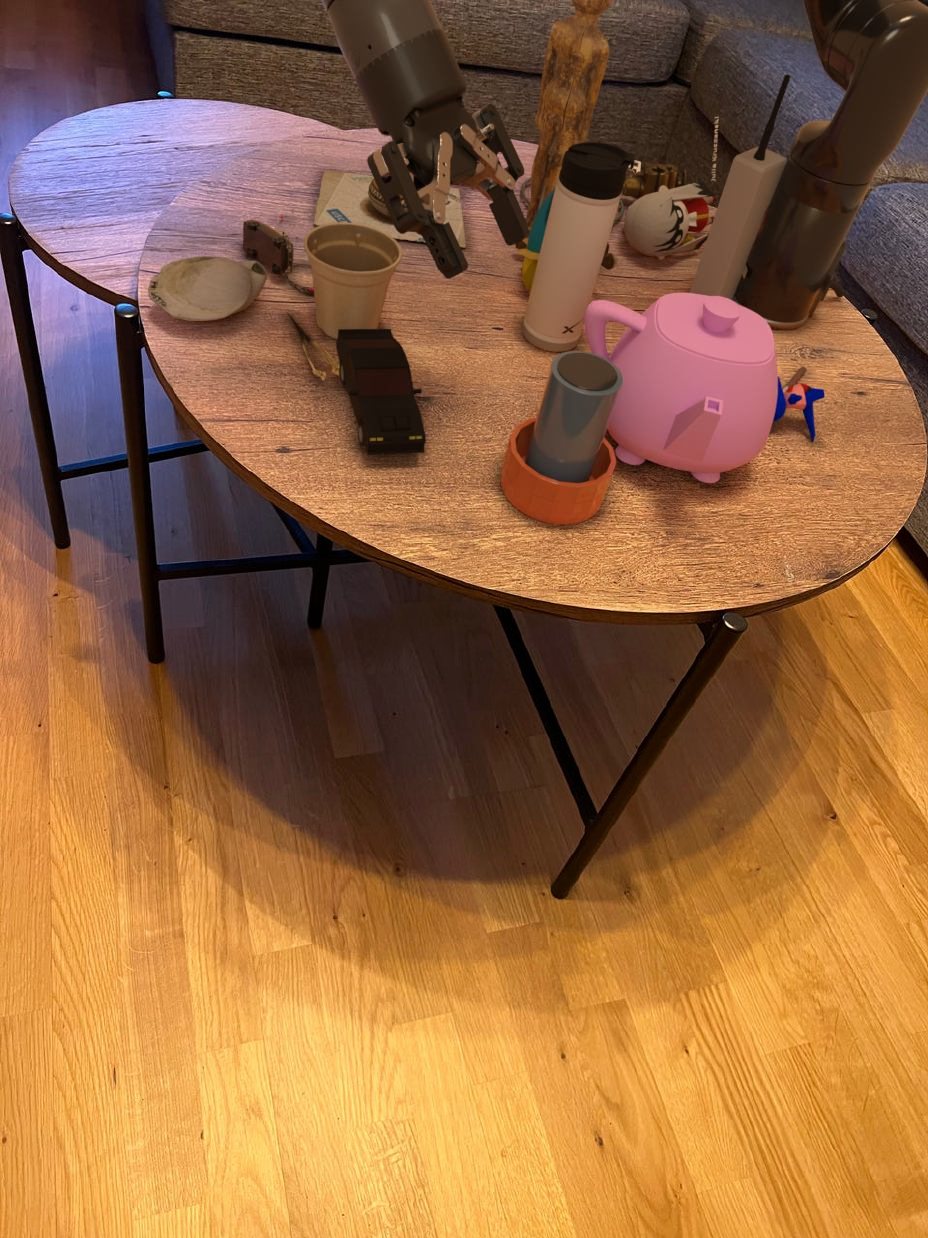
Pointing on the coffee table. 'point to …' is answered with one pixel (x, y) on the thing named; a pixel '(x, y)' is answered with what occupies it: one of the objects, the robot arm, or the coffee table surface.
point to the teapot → (689, 382)
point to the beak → (321, 350)
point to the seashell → (206, 287)
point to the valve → (653, 180)
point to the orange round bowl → (552, 483)
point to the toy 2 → (670, 218)
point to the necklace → (310, 290)
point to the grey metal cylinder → (573, 416)
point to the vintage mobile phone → (740, 214)
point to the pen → (795, 378)
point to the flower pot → (350, 274)
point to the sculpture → (567, 94)
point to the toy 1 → (534, 242)
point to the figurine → (798, 402)
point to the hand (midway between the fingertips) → (489, 257)
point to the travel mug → (574, 243)
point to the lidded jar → (373, 205)
